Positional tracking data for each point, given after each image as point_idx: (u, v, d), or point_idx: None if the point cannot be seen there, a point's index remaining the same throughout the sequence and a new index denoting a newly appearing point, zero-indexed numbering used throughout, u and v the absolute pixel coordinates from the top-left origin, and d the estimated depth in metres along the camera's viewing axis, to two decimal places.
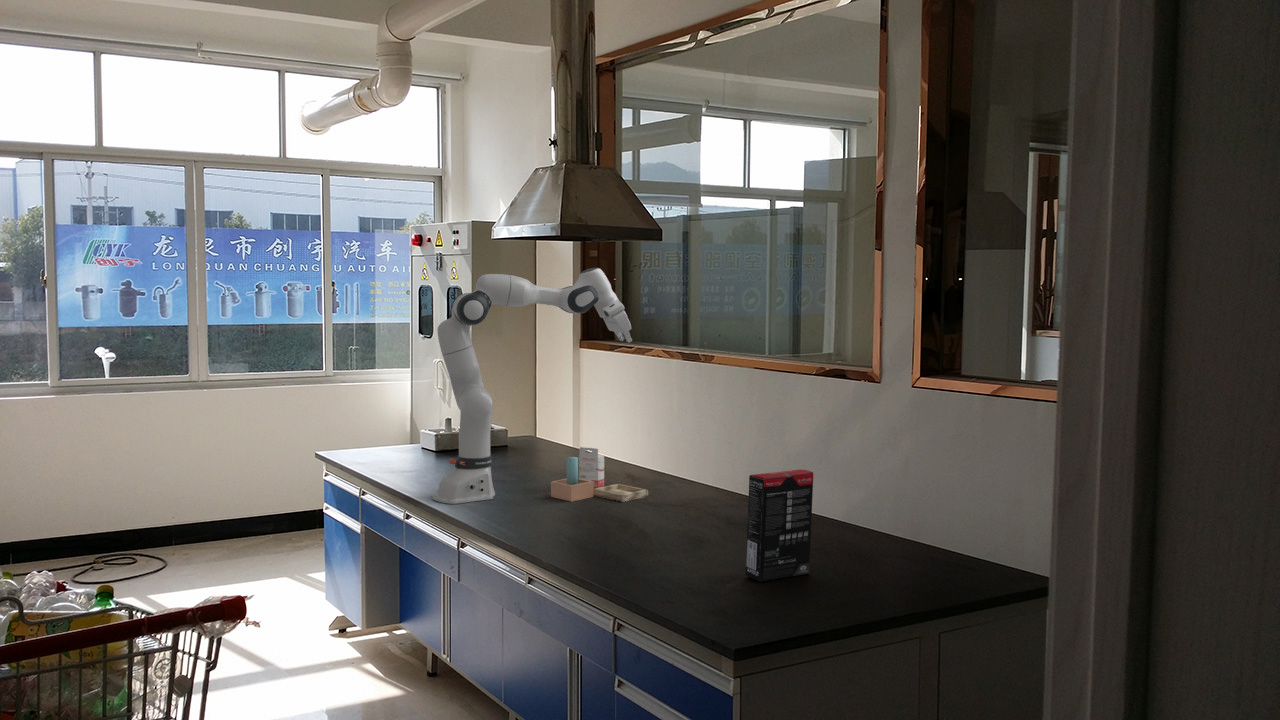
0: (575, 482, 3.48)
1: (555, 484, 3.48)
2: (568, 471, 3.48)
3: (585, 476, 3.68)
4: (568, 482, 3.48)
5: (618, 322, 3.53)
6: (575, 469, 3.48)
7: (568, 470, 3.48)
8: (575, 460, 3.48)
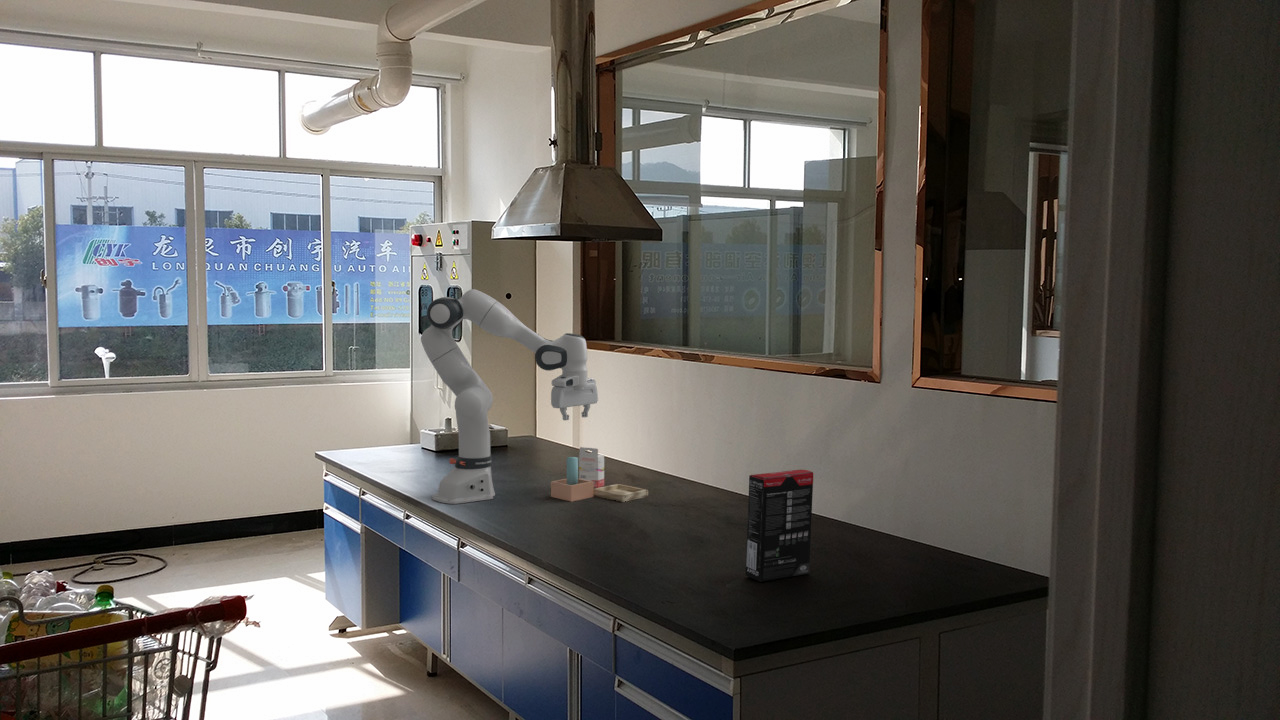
0: (575, 482, 3.48)
1: (555, 484, 3.48)
2: (568, 471, 3.48)
3: (585, 476, 3.68)
4: (568, 482, 3.48)
5: (551, 394, 3.42)
6: (575, 469, 3.48)
7: (568, 470, 3.48)
8: (575, 460, 3.48)
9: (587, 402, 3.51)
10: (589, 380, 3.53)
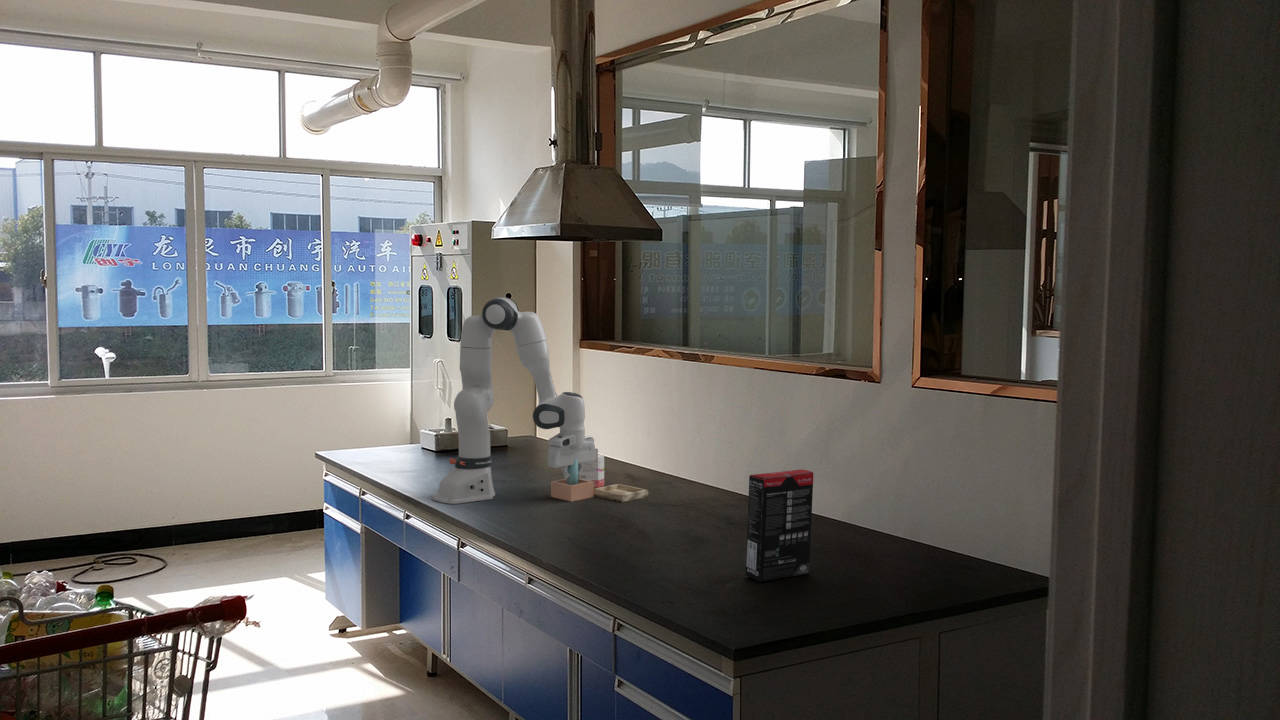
0: (575, 482, 3.48)
1: (555, 484, 3.48)
2: (568, 471, 3.48)
3: (585, 476, 3.68)
4: (568, 482, 3.48)
5: (548, 454, 3.43)
6: (575, 469, 3.48)
7: (568, 470, 3.48)
8: (575, 460, 3.48)
9: (584, 460, 3.51)
10: (587, 438, 3.54)
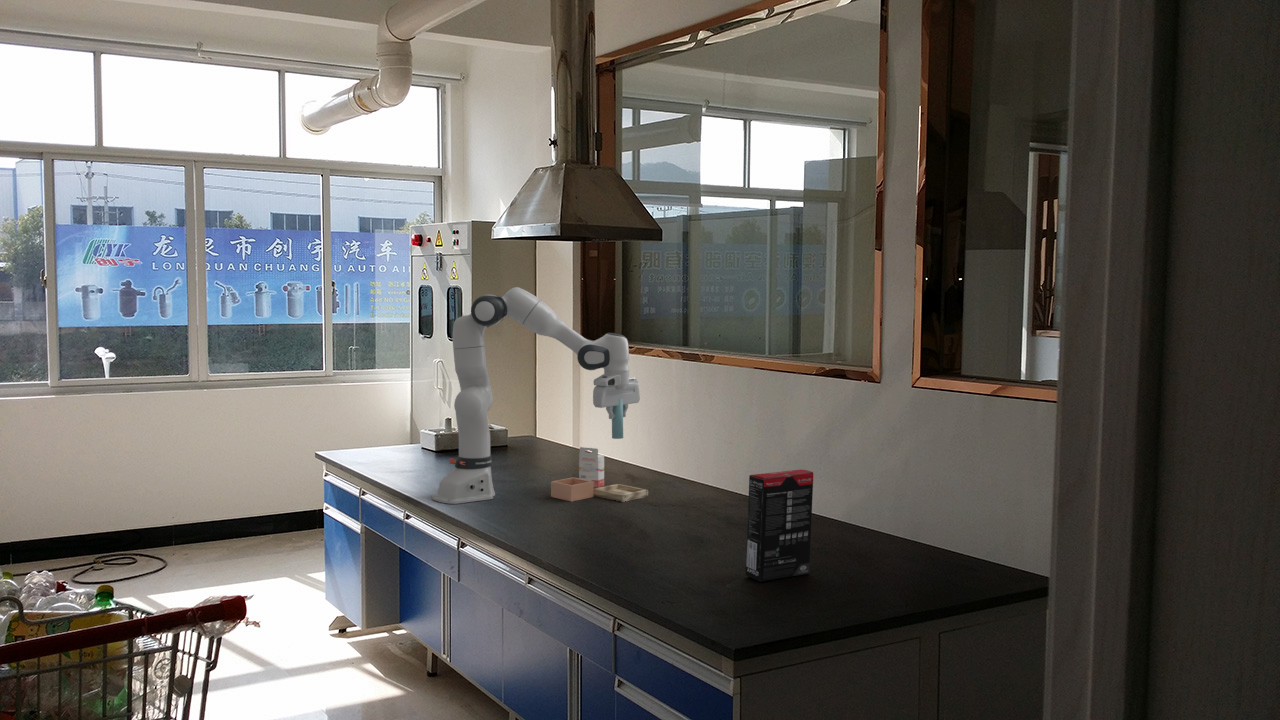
0: (620, 423, 3.48)
1: (555, 484, 3.48)
2: (613, 412, 3.48)
3: (585, 476, 3.68)
4: (613, 423, 3.48)
5: (593, 394, 3.43)
6: (620, 410, 3.48)
7: (613, 411, 3.48)
8: (620, 400, 3.48)
9: (629, 401, 3.51)
10: (631, 379, 3.54)
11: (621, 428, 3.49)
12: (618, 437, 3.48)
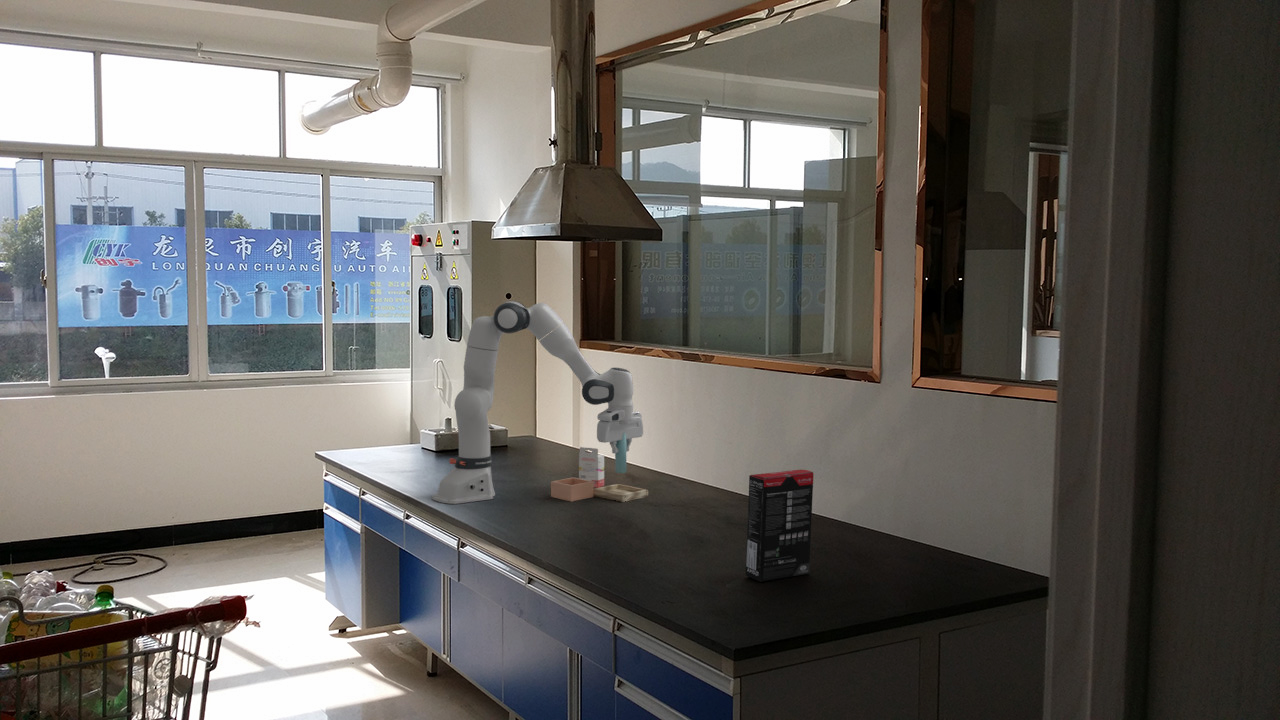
0: (624, 457, 3.50)
1: (555, 484, 3.48)
2: (617, 446, 3.49)
3: (585, 476, 3.68)
4: (617, 457, 3.50)
5: (597, 429, 3.44)
6: (623, 444, 3.49)
7: (617, 445, 3.49)
8: (624, 435, 3.49)
9: (632, 436, 3.52)
10: (635, 414, 3.55)
11: (624, 462, 3.50)
12: (621, 471, 3.50)
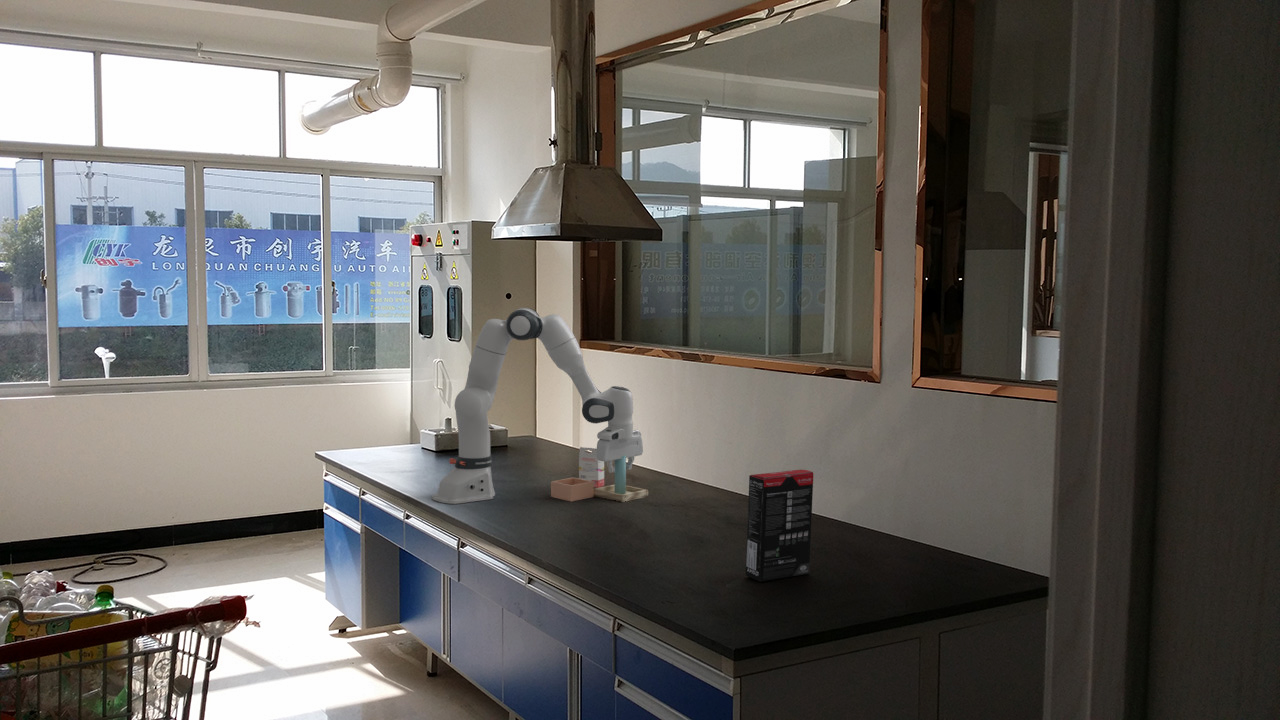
0: (623, 479, 3.50)
1: (555, 484, 3.48)
2: (616, 468, 3.50)
3: (585, 476, 3.68)
4: (616, 479, 3.50)
5: (597, 447, 3.45)
6: (623, 466, 3.50)
7: (616, 467, 3.50)
8: (623, 457, 3.49)
9: (632, 454, 3.53)
10: (634, 432, 3.55)
11: (624, 484, 3.50)
12: (621, 493, 3.50)
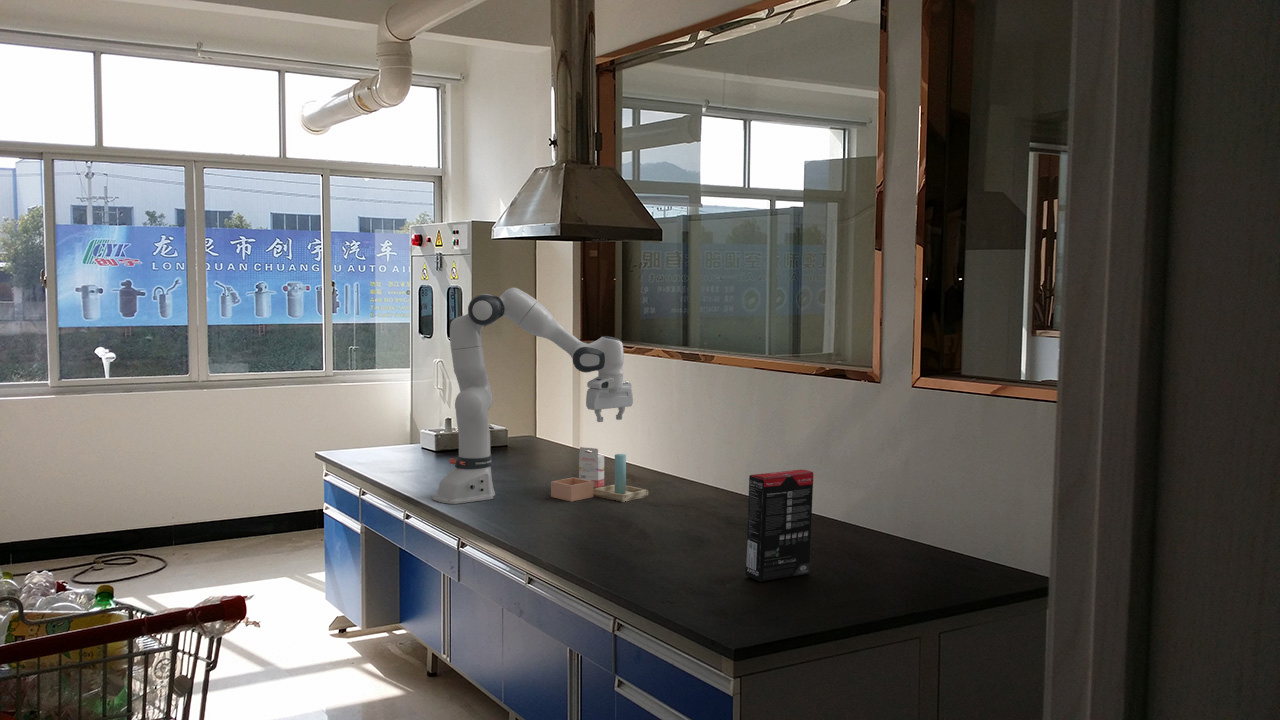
0: (623, 479, 3.50)
1: (555, 484, 3.48)
2: (616, 468, 3.50)
3: (585, 476, 3.68)
4: (616, 479, 3.50)
5: (586, 396, 3.46)
6: (623, 466, 3.50)
7: (616, 467, 3.50)
8: (623, 457, 3.50)
9: (622, 405, 3.54)
10: (625, 383, 3.56)
11: (624, 484, 3.50)
12: (620, 493, 3.50)
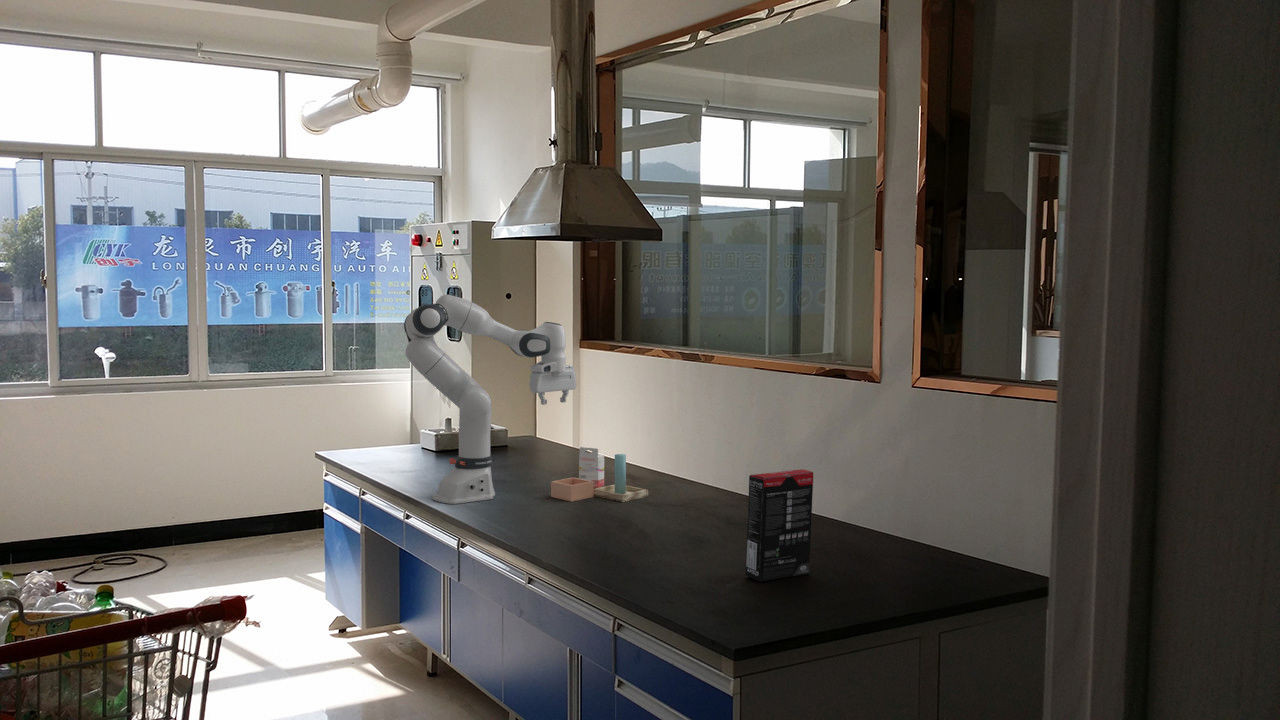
0: (623, 479, 3.50)
1: (555, 484, 3.48)
2: (616, 468, 3.50)
3: (585, 476, 3.68)
4: (616, 479, 3.50)
5: (530, 380, 3.59)
6: (623, 466, 3.50)
7: (616, 467, 3.50)
8: (623, 457, 3.50)
9: (565, 388, 3.67)
10: (568, 367, 3.69)
11: (624, 484, 3.50)
12: (620, 493, 3.50)
